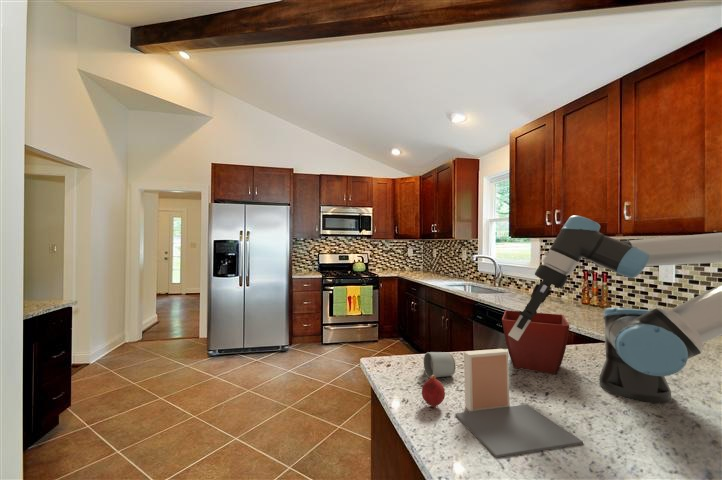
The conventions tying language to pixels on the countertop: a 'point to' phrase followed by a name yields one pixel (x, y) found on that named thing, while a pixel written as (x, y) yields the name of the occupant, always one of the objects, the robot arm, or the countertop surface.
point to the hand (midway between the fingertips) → (515, 333)
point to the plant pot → (537, 342)
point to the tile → (486, 379)
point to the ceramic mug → (439, 364)
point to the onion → (433, 392)
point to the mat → (516, 430)
